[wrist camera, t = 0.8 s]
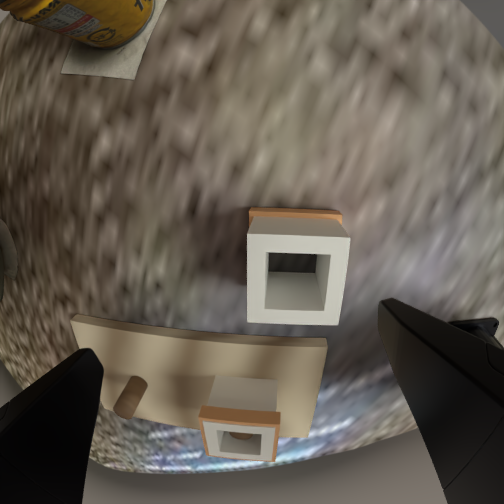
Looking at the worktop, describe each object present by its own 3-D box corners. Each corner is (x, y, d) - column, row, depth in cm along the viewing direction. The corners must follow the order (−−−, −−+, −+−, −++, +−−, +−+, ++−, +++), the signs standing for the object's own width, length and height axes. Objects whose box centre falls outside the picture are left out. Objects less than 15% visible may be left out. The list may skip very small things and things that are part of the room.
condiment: (176, -18, 14) (96, -109, 2) (135, 80, 17) (2, 42, 5) (99, -15, 13) (6, -68, 2) (63, 73, 16) (-57, 59, 5)
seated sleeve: (281, 377, 22) (280, 425, 17) (277, 418, 24) (275, 462, 19) (211, 372, 22) (197, 418, 18) (216, 413, 24) (206, 456, 20)
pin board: (326, 337, 22) (334, 384, 17) (307, 428, 26) (308, 469, 21) (76, 313, 24) (45, 344, 19) (108, 401, 28) (90, 433, 23)
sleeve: (338, 210, 18) (357, 232, 14) (330, 289, 20) (342, 329, 16) (251, 206, 19) (241, 227, 14) (250, 286, 21) (241, 326, 16)
